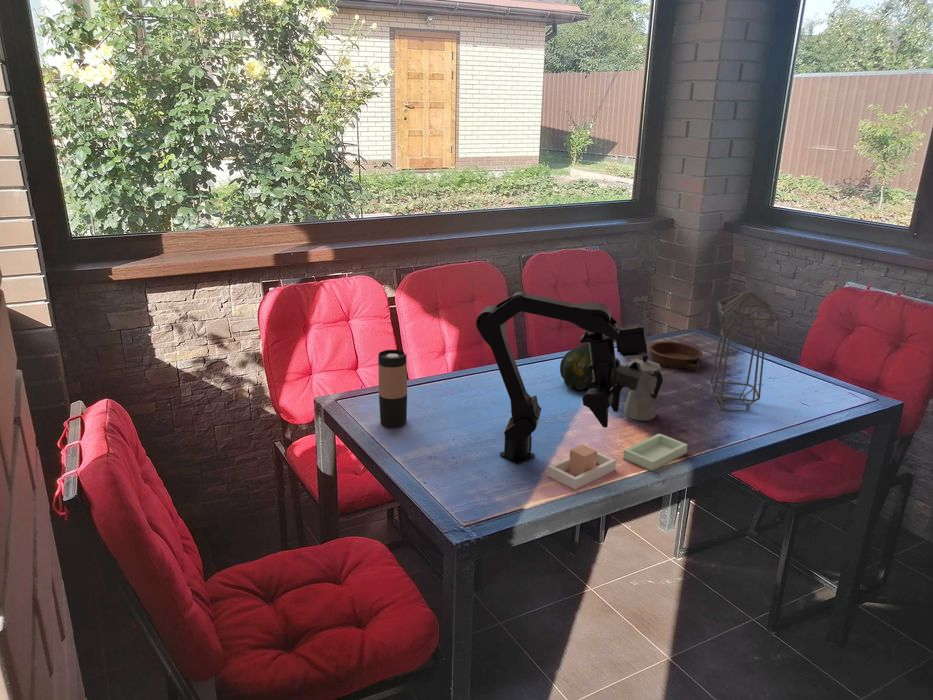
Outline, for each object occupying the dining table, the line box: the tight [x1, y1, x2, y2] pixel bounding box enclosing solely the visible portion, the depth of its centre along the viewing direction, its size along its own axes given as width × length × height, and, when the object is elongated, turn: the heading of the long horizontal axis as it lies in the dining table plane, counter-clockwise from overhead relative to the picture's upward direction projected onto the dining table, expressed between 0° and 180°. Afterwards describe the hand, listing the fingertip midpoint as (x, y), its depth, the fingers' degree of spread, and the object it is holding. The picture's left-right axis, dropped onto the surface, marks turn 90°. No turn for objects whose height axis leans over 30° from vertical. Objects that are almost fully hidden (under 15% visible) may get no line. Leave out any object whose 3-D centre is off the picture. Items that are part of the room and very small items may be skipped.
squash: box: [559, 342, 597, 390], centre depth 230 cm, size 14×15×15 cm
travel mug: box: [377, 349, 408, 429], centre depth 200 cm, size 8×8×20 cm
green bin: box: [622, 433, 688, 472], centre depth 187 cm, size 15×8×2 cm, turn 131°
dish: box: [647, 341, 703, 371], centre depth 253 cm, size 18×22×5 cm
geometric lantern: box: [709, 290, 781, 413], centre depth 213 cm, size 16×16×35 cm
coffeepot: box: [623, 354, 664, 421], centre depth 207 cm, size 15×9×18 cm, turn 19°
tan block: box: [568, 444, 598, 477], centre depth 177 cm, size 4×4×6 cm
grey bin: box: [547, 451, 617, 490], centre depth 178 cm, size 15×8×2 cm, turn 131°
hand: (610, 419), depth 177 cm, fingers open, 9 cm apart
